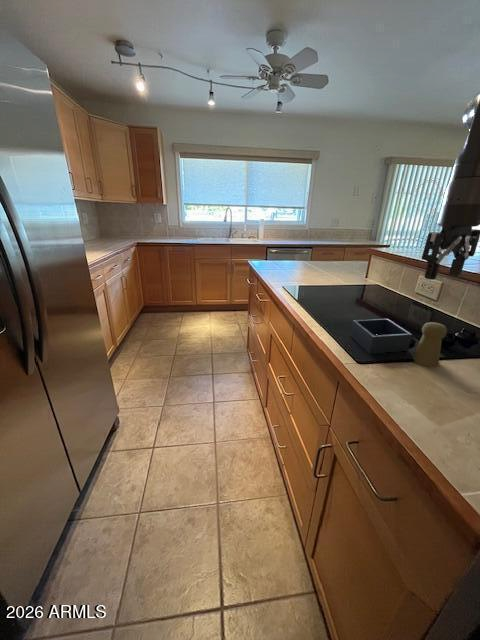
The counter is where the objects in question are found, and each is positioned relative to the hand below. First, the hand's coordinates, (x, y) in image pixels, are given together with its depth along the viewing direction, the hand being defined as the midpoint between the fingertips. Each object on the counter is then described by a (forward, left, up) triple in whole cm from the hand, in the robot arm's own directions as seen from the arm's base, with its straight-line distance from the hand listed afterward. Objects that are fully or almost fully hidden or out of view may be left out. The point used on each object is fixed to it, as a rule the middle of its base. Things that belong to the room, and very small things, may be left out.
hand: (442, 276), depth 62 cm
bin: (+5, -11, -23) cm, 26 cm away
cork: (-2, 0, -24) cm, 24 cm away
